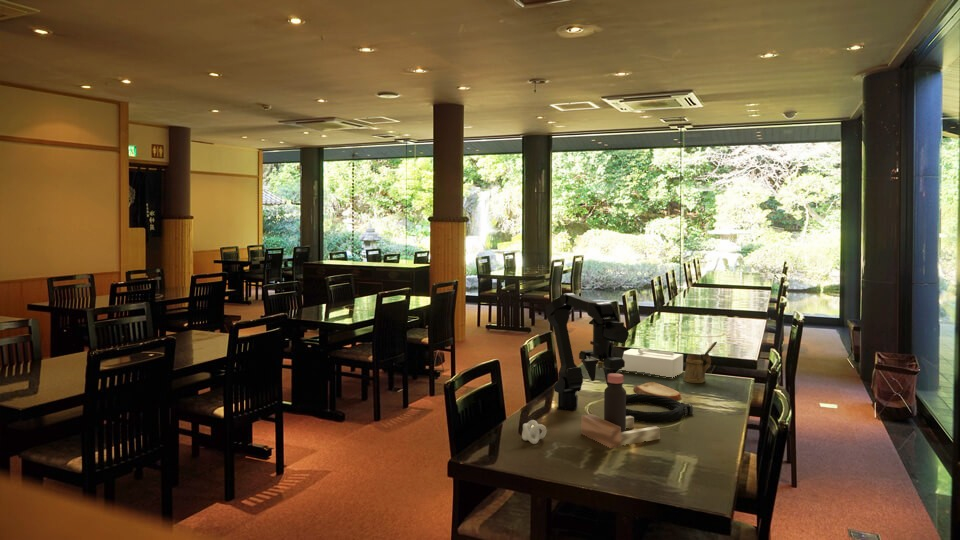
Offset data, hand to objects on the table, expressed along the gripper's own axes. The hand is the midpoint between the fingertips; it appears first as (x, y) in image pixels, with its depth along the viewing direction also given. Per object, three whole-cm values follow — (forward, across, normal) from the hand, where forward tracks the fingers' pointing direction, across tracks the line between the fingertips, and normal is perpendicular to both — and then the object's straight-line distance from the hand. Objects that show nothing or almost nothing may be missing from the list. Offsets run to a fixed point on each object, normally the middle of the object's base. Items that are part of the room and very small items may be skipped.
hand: (600, 383), depth 216 cm
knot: (+13, -8, +32) cm, 35 cm away
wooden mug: (+13, +28, -73) cm, 79 cm away
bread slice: (+14, +20, -42) cm, 49 cm away
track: (+13, -16, +4) cm, 21 cm away
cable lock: (+14, +2, -23) cm, 26 cm away
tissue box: (+14, +52, -66) cm, 85 cm away
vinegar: (+13, -16, +6) cm, 22 cm away
